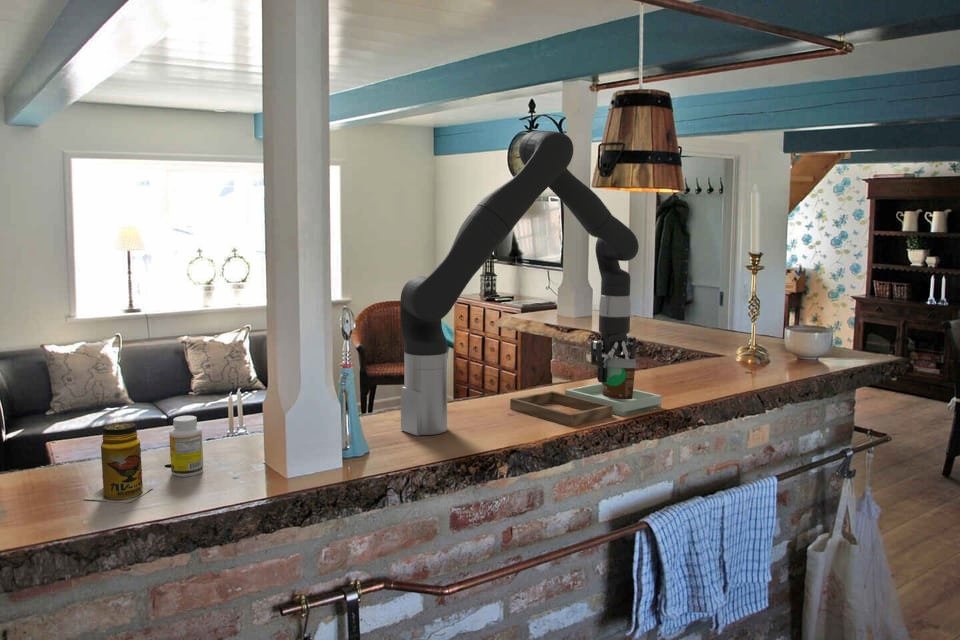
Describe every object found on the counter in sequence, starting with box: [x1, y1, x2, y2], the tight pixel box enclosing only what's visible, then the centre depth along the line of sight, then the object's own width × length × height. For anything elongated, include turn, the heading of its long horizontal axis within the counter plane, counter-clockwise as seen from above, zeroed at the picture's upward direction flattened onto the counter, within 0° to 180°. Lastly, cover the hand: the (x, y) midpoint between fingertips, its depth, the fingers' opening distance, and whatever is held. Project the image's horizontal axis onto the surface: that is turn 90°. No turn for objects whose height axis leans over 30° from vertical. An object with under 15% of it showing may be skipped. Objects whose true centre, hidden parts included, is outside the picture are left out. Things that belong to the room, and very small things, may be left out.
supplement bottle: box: [169, 415, 204, 478], centre depth 150 cm, size 6×6×10 cm
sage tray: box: [564, 382, 662, 417], centre depth 205 cm, size 14×19×3 cm
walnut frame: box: [509, 390, 613, 427], centre depth 196 cm, size 14×20×2 cm
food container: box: [602, 352, 638, 399], centre depth 204 cm, size 12×6×10 cm, turn 21°
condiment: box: [83, 421, 154, 504], centre depth 139 cm, size 7×8×12 cm
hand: (612, 380), depth 204 cm, fingers closed on food container, 7 cm apart
